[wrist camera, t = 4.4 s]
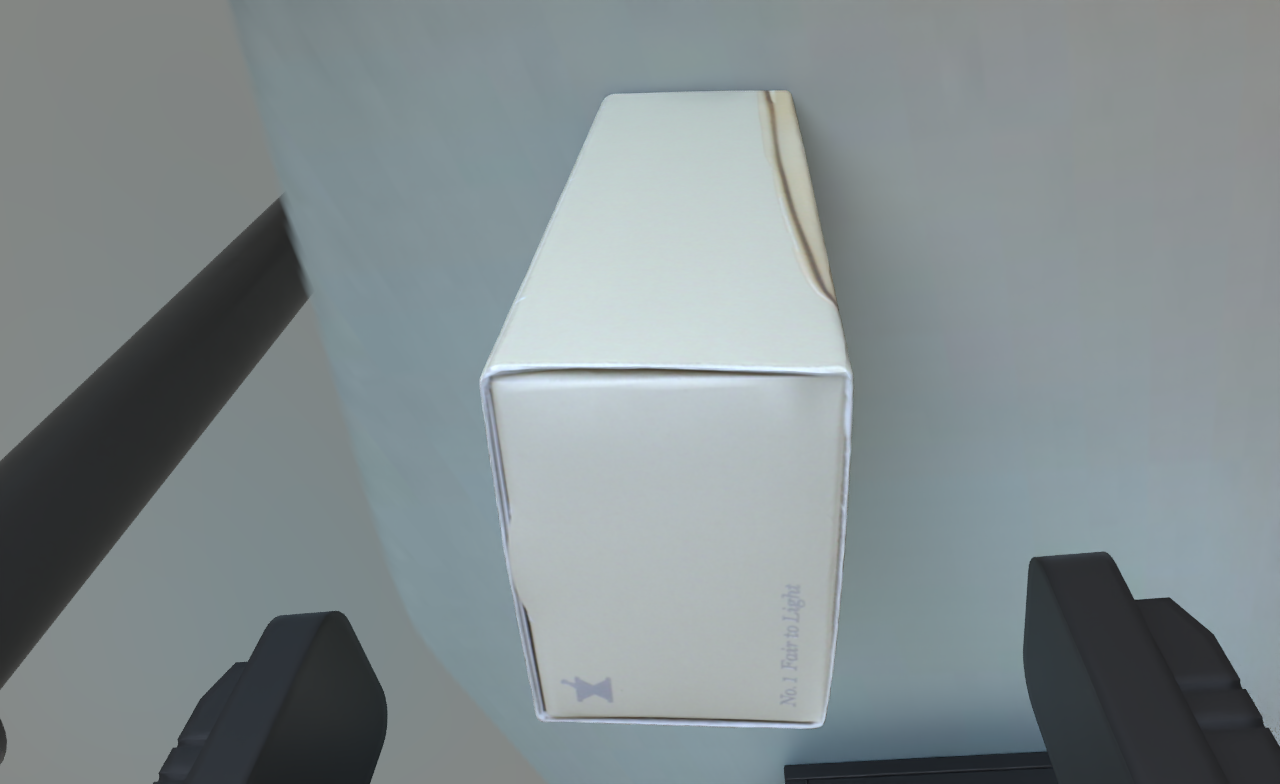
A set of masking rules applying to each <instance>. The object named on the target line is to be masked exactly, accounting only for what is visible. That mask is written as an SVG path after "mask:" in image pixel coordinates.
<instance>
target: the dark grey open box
mask: <svg viewBox="0 0 1280 784" xmlns="http://www.w3.org/2000/svg"><path fill="white" fill-rule="evenodd" d="M784 775H785V784H1058V781H1057V778H1056V775H1055V772H1054V769H1053V766H1052V764H1051V761H1050V758H1049V755H1048V752H1036V753H1017V754H998V755H979V756H960V757H940V758H921V759H902V760H883V761H864V762H845V763H826V764H807V765H787V766H784Z"/></svg>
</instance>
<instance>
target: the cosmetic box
mask: <svg viewBox="0 0 1280 784" xmlns="http://www.w3.org/2000/svg"><path fill="white" fill-rule="evenodd" d="M480 394H481V400H482V408H483V416H484V423H485V430H486V437H487V445H488V452H489V459H490V465H491V470H492V476H493V483H494V490H495V497H496V504H497V510H498V517H499V523H500V530H501V536H502V543H503V550H504V556H505V562H506V567H507V572H508V577H509V582H510V587H511V591H512V596H513V601H514V607H515V613H516V619H517V623H518V628H519V632H520V637H521V642H522V647H523V653H524V658H525V663H526V668H527V672H528V678H529V683H530V687H531V691H532V697H533V702H534V709H535V713H536V716H537V718H538V720H539V721H541V722H583V723H605V724H614V723H618V724H628V725H630V724H642V725H669V726H706V727H731V728H739V727H755V728H794V729H816V728H819V727H821V726H822V725H823V724H824V723H825V719H826V715H827V709H828V703H829V698H830V690H831V682H832V677H833V672H834V662H835V652H836V645H837V636H838V625H839V616H840V606H841V595H842V583H843V568H844V556H845V544H846V529H847V513H848V499H849V483H850V462H851V443H852V429H853V394H854V378H853V371H852V368H851V363H850V359H849V354H848V349H847V344H846V339H845V335H844V330H843V325H842V320H841V317H840V313H839V309H838V304H837V299H836V294H835V289H834V284H833V279H832V275H831V270H830V266H829V262H828V257H827V252H826V247H825V243H824V238H823V233H822V229H821V224H820V219H819V215H818V210H817V206H816V201H815V196H814V191H813V186H812V181H811V177H810V173H809V168H808V164H807V159H806V154H805V150H804V145H803V142H802V136H801V133H800V128H799V124H798V119H797V115H796V111H795V107H794V103H793V99H792V95H791V93H790V92H788V91H785V90H774V91H693V92H655V93H628V94H612V95H609V96H606V97H605V99H604V100H603V101H602V103H601V106H600V108H599V111H598V113H597V115H596V118H595V120H594V122H593V124H592V127H591V129H590V131H589V134H588V136H587V138H586V140H585V143H584V145H583V147H582V149H581V151H580V154H579V156H578V158H577V160H576V163H575V165H574V167H573V170H572V172H571V174H570V176H569V179H568V181H567V183H566V185H565V188H564V190H563V192H562V194H561V197H560V199H559V201H558V203H557V206H556V208H555V210H554V212H553V215H552V217H551V219H550V221H549V224H548V226H547V228H546V230H545V232H544V235H543V237H542V239H541V242H540V244H539V246H538V248H537V251H536V253H535V255H534V258H533V260H532V262H531V264H530V267H529V269H528V271H527V273H526V276H525V278H524V280H523V282H522V284H521V287H520V289H519V291H518V293H517V296H516V298H515V300H514V302H513V304H512V307H511V309H510V311H509V313H508V315H507V318H506V320H505V322H504V325H503V327H502V330H501V332H500V334H499V336H498V339H497V341H496V343H495V345H494V347H493V349H492V352H491V354H490V356H489V358H488V360H487V363H486V365H485V367H484V370H483V372H482V374H481V377H480Z"/></svg>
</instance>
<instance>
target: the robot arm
mask: <svg viewBox="0 0 1280 784" xmlns="http://www.w3.org/2000/svg"><path fill="white" fill-rule="evenodd" d="M1023 661H1024V671H1025V678H1026V684H1027V689H1028V693H1029V698H1030V701H1031V705H1032V708H1033V711H1034V714H1035V717H1036V720H1037V723H1038V726H1039V729H1040V732H1041V735H1042V737H1043V740H1044V743H1045V746H1046V749H1047V752H1048V755H1049V758H1050V761H1051V764H1052V766H1053V769H1054V772H1055V775H1056V778H1057V781H1058V784H1280V746H1279V745H1278V743H1277V741H1276V740H1275V738H1274V736H1273V735H1272V733H1271V731H1270V729H1269V728H1265V726H1264V724H1263V720H1262V719H1263V718H1262V716H1261V714H1260V712H1259V711H1258V709H1257V707H1256V706H1255V704H1254V702H1253V701H1252V699H1251V697H1250V695H1249V694H1248V692H1247V690H1246V689H1242V687H1241V684H1240V678H1239V677H1238V675H1237V673H1236V672H1235V670H1234V668H1233V667H1232V665H1231V663H1230V661H1229V660H1228V658H1227V656H1226V655H1225V653H1224V651H1223V650H1222V648H1221V646H1220V644H1219V643H1218V641H1217V639H1216V638H1215V636H1214V634H1212V633H1211V632H1210V631H1209V630H1208V629H1207V628H1205V627H1204V626H1203V625H1202V624H1201V623H1199V622H1198V621H1197V620H1196V619H1195V618H1193V617H1192V616H1191V615H1190V614H1189V613H1187V612H1186V611H1185V610H1184V609H1183V608H1181V607H1180V606H1179V605H1178V604H1177V603H1175V602H1174V601H1173V600H1172V599H1171V598H1170V597H1169V598H1155V599H1141V600H1134V598H1133V596H1132V594H1131V592H1130V590H1129V588H1128V586H1127V584H1126V582H1125V580H1124V579H1123V577H1122V575H1121V573H1120V571H1119V569H1118V567H1117V565H1116V563H1115V562H1114V560H1113V559H1112V557H1111V556H1110V555H1109V554H1108V553H1106V552H1093V553H1080V554H1068V555H1055V556H1043V557H1033V558H1032V559H1031V561H1030V564H1029V570H1028V584H1027V599H1026V614H1025V629H1024V644H1023ZM386 730H387V704H386V698H385V695H384V691H383V689H382V687H381V685H380V683H379V681H378V679H377V677H376V675H375V673H374V671H373V669H372V667H371V664H370V663H369V661H368V659H367V657H366V655H365V652H364V650H363V648H362V646H361V644H360V642H359V640H358V638H357V636H356V634H355V632H354V630H353V628H352V626H351V624H350V622H349V620H348V619H347V617H346V616H345V615H344V614H343V613H341V612H339V611H330V612H318V613H305V614H293V615H281V616H278V617H275V618H274V619H273V620H272V621H271V622H270V623H269V624H268V626H267V627H266V629H265V630H264V632H263V635H262V636H261V638H260V640H259V642H258V644H257V646H256V647H255V649H254V651H253V653H252V655H251V657H250V659H249V661H248V662H238V663H235V664H234V665H233V666H232V667H231V668H230V669H229V670H228V671H227V672H226V673H225V674H224V675H223V676H222V678H220V679H219V680H218V681H217V682H216V683H215V684H214V686H213V687H212V688H211V689H210V690H209V691H208V692H207V693H206V694H205V695H204V696H203V697H202V698H201V699H200V701H199V703H198V704H197V706H196V708H195V709H194V711H193V713H192V715H191V717H190V719H189V720H188V722H187V724H186V725H185V727H184V729H183V731H182V733H181V735H180V736H179V738H178V746H177V748H173V749H172V750H171V752H170V754H169V756H168V758H167V760H166V761H165V763H164V765H163V767H162V768H161V770H160V772H159V781H158V782H154V783H153V784H370V782H371V779H372V776H373V773H374V770H375V767H376V764H377V761H378V759H379V756H380V753H381V750H382V747H383V743H384V740H385V736H386Z"/></svg>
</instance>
